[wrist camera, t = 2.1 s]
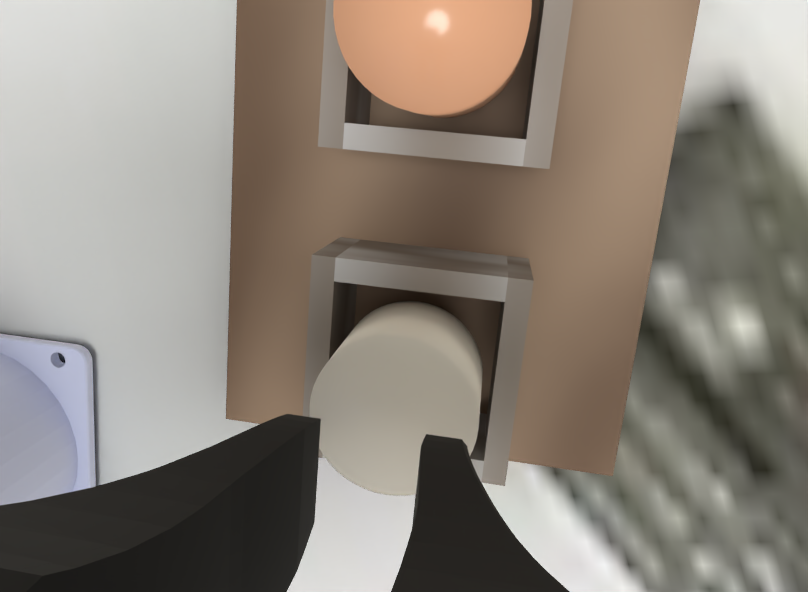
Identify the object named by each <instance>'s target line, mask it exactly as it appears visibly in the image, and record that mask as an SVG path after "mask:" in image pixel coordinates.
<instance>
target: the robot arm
mask: <svg viewBox="0 0 808 592" xmlns="http://www.w3.org/2000/svg"><path fill="white" fill-rule="evenodd" d="M59 353H61V354H62V355H63V356H64V357H65V363H63V362H61V360H60V359H59V356H58V354H59ZM320 424H321V419H320V418H313V417H306V416H299V415H292V414H285V415H281V416H279V417H276V418H273V419H271V420H269V421H266V422H264V423H262V424H260V425H257V426H255V427H253V428H251V429H249V430H247V431H244V432H242V433H240V434H238V435H236V436H233V437H231V438H229V439H227V440H225V441H222V442H220V443H218V444H216V445H214V446H211V447H209V448H206V449H204V450H201V451H199V452H196V453H194V454H191V455H189V456H186V457H184V458H181V459H179V460H176V461H174V462H171V463H169V464H166V465H164V466H161V467H158V468H155V469H153V470H150V471H147V472H144V473H141V474H137V475H134V476H131V477H127V478H124V479H121V480H117V481H114V482H110V483H107V484H103V485H99V486H96V476H95V438H94V399H93V361H92V356H91V354H90V352H89V351H88V349H86V348H85V347H84V346H81V345H78V344H71V343H64V342H57V341H50V340H42V339H35V338H28V337H21V336H14V335H6V334H0V592H286V591H287V590H288V588H289V586H290V584H291V582H292V580H293V578H294V576H295V574H296V572H297V569H298V567H299V564H300V561H301V559H302V556H303V553H304V550H305V548H306V545H307V542H308V539H309V536H310V533H311V530H312V528H313V525H314V518H315V503H316V487H317V471H318V456H319V440H320ZM391 592H569V591H568V590H567V589H566V588H565V587H564V586H563V585H561V584H560V583H559V582H558V581H557V580H556V579H555V578H554V577H553V576H551V575H550V574H549V573H548V572H547V571H546V570H545V569H544V568H543V567H542V566H541V565H540V564H539V563H538V562H537V561H536V560H535V559H534V558H533V557H532V556H531V554H530V553H529V552H528V551H527V550H526V549H525V548H524V547H523V545H522V544H521V543H520V542H519V541H518V540H517V538H516V537H515V536H514V534H513V533H512V532H511V530H510V529H509V527H508V526H507V525H506V523H505V522H504V520H503V519H502V517H501V516H500V514H499V513H498V511H497V509H496V508H495V506H494V505H493V503H492V501H491V499H490V498H489V496H488V494H487V492H486V490H485V489H484V487H483V485H482V483H481V481H480V479H479V477H478V475H477V473H476V471H475V468H474V466H473V464H472V461H471V459H470V456H469V452H468V448H467V445H466V444H465V443H464V441H463V440H462V439H457V438H450V437H443V436H436V435H429V434H426V436H425V438H424V440H423V442H422V445H421V450H420V460H419V469H418V479H417V488H416V498H415V507H414V517H413V526H412V532H411V535H410V539H409V542H408V545H407V548H406V551H405V554H404V557H403V561H402V564H401V567H400V569H399V572H398V575H397V577H396V580H395V583H394V585H393V588H392V591H391Z"/></svg>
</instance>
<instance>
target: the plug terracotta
mask: <svg viewBox="0 0 808 592" xmlns="http://www.w3.org/2000/svg"><path fill="white" fill-rule="evenodd" d="M531 8H532V0H334V2H333V18H334V26H335V32H336V36H337V40H338V44H339V47H340V49H341V52H342V55H343V57H344V59H345V61H346V63H347V64H348V66H349V68H350V69H351V71H352V72H353V74H354V75H355V77H356V78H357V79H358V80H359V81H360V82H361V83H362V84H363V86H364V87H365V88H367V89H368V90H369V91H370V92H371V93H372V94H374V95H375V96H376V97H378V98H380V99H381V100H383V101H384V102H386V103H388V104H390V105H393V106H395V107H397V108H400V109H404V110H407V111H410V112H414V113H417V114H421V115H424V116H428V117H435V118H450V117H458V116H461V115H465V114H468V113H471V112H473V111H476V110H478V109H479V108H481V107H483V106H485V105H486V104H488V103H489V102H490V101H492V100H493V99H494V98H495V97H496V96H497V95H498V94H500V93H501V92H502V90H503V89H504V88H505V87H506V86H507V84H508V83H509V82H510V80H511V78H512V77H513V75H514V74H515V72H516V69H517V67H518V65H519V63H520V60H521V57H522V53H523V50H524V46H525V42H526V38H527V34H528V30H529V24H530V19H531Z"/></svg>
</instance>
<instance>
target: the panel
mask: <svg viewBox="0 0 808 592" xmlns="http://www.w3.org/2000/svg"><path fill="white" fill-rule="evenodd" d="M333 2H334V0H237V21H236V59H235V97H234V135H233V173H232V210H231V248H230V286H229V324H228V362H227V400H226V419H232V420H238V421H245V422H252V423H259V424H262V423H264V422H266V421H269V420H271V419H273V418H276V417H279V416H281V415H285V414H292V415H299V416H306V417H310V398H311V393H312V390H313V386H314V384H315V382H316V379H317V377H318V375H319V374H320V372H321V370H322V369H323V367H324V366H325V365H326V363H327V362H328V361H329V360H330V358H331V357H332V356H333V354H334V353H335V352H336V351H337V349H338V348H339V347H340V345H341V344H342V343H343V342H344V340H345V339H346V338H347V336H348V335H349V334H350V332H351V331H352V330H353V329H354V327H355V326H356V325H357V324H358V323H359V321H361V320H362V319H363V318H364V317H365V316H366V315H368V314H369V313H370V312H372V311H373V310H375V309H377V308H379V307H381V306H384V305H387V304H390V303H395V302H401V301H418V302H423V303H428V304H431V305H434V306H437V307H439V308H441V309H443V310H445V311H447V312H449V313H450V314H452V315H453V316H455V317H456V318H457V319H458V320H459V321H461V322H462V324H463V325H464V326H465V327H466V328H467V329H468V330H469V332H470V333H471V335H472V336H473V338H474V340H475V342H476V344H477V346H478V349H479V351H480V355H481V359H482V367H483V376H482V390H481V402H480V415H479V428H478V435H477V439H476V443H475V446H474V448H473V451H472V453H471V455H470V459H471V461H472V464H473V466H474V468H475V471H476V473H477V475H478V477H479V479H480V481H481V482H483V483H490V484H496V485H503V486H505V481H506V474H507V467H508V461H515V462H521V463H528V464H535V465H542V466H548V467H555V468H562V469H569V470H575V471H582V472H589V473H595V474H602V475H609V476H613V471H614V465H615V460H616V455H617V449H618V444H619V438H620V433H621V427H622V422H623V417H624V411H625V406H626V400H627V395H628V389H629V384H630V379H631V373H632V368H633V362H634V357H635V351H636V346H637V341H638V335H639V330H640V324H641V319H642V313H643V308H644V303H645V297H646V292H647V286H648V281H649V275H650V270H651V265H652V259H653V254H654V248H655V243H656V237H657V232H658V226H659V221H660V216H661V210H662V205H663V199H664V194H665V188H666V183H667V178H668V172H669V167H670V161H671V156H672V150H673V145H674V140H675V134H676V129H677V123H678V118H679V112H680V107H681V102H682V96H683V91H684V85H685V80H686V74H687V69H688V64H689V58H690V53H691V47H692V42H693V36H694V31H695V26H696V20H697V15H698V9H699V4H700V0H532V8H531V19H530V24H529V30H528V34H527V38H526V42H525V46H524V50H523V53H522V57H521V60H520V63H519V65H518V67H517V69H516V72H515V74H514V75H513V77H512V78H511V80H510V82H509V83H508V84H507V86H506V87H505V88H504V89H503V90H502V92H501V93H500V94H498V95H497V96H496V97H495V98H494V99H493V100H492V101H490V102H489V103H488V104H486V105H485V106H483V107H481V108H479V109H478V110H476V111H473V112H471V113H468V114H465V115H461V116H458V117H450V118H435V117H428V116H424V115H421V114H417V113H414V112H410V111H407V110H404V109H400V108H397V107H395V106H393V105H390V104H388V103H386V102H384V101H383V100H381V99H380V98H378V97H376V96H375V95H374V94H372V93H371V92H370V91H369V90H368V89H367V88H365V87H364V86H363V84H362V83H361V82H360V81H359V80H358V79H357V78H356V77H355V75H354V74H353V72H352V71H351V69H350V68H349V66H348V64H347V63H346V61H345V59H344V57H343V55H342V52H341V49H340V47H339V44H338V40H337V36H336V32H335V26H334V18H333ZM318 457H320V458H325V457H324V455H323V454H322V452H321V450H320V449H319V456H318Z"/></svg>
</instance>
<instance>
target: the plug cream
mask: <svg viewBox="0 0 808 592" xmlns="http://www.w3.org/2000/svg"><path fill="white" fill-rule="evenodd" d="M482 376H483V367H482V359H481V355H480V351H479V349H478V346H477V344H476V342H475V340H474V338H473V336H472V335H471V333H470V332H469V330H468V329H467V328H466V327H465V326H464V325H463V324H462V322H461V321H459V320H458V319H457V318H456V317H455V316H453V315H452V314H450V313H449V312H447V311H445V310H443V309H441V308H439V307H437V306H434V305H431V304H428V303H423V302H418V301H401V302H395V303H390V304H387V305H384V306H381V307H379V308H377V309H375V310H373V311H372V312H370V313H369V314H368V315H366V316H365V317H364V318H363V319H362V320H361V321H359V323H358V324H357V325H356V326H355V327H354V329H353V330H352V331H351V332H350V334H349V335H348V336H347V338H346V339H345V340H344V342H343V343H342V344H341V345H340V347H339V348H338V349H337V351H336V352H335V353H334V354H333V356H332V357H331V358H330V360H329V361H328V362H327V363H326V365H325V366H324V367H323V369H322V370H321V372H320V374H319V375H318V377H317V379H316V382H315V384H314V386H313V390H312V393H311V398H310V417H313V418H320V419H321V424H320V440H319V449H320V450H321V452H322V454H323V455H324V457H325V458H326V459H327V461H328V462H329V463H330V464H331V466H332V467H333V468H334V469H335V470H336V471H337V472H339V473H340V474H341V475H342V476H344V477H345V478H346V479H348V480H349V481H351V482H352V483H354V484H356V485H358V486H360V487H362V488H364V489H367V490H370V491H372V492H376V493H380V494H385V495H394V496H406V495H414V494H416V488H417V479H418V469H419V460H420V450H421V445H422V442H423V440H424V438H425V436H426V434H429V435H436V436H443V437H450V438H457V439H462V440H463V441H464V443H465V444H466V445H467V448H468V452H469V456H470V455H471V453H472V451H473V448H474V446H475V443H476V439H477V435H478V428H479V415H480V402H481V390H482Z"/></svg>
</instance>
